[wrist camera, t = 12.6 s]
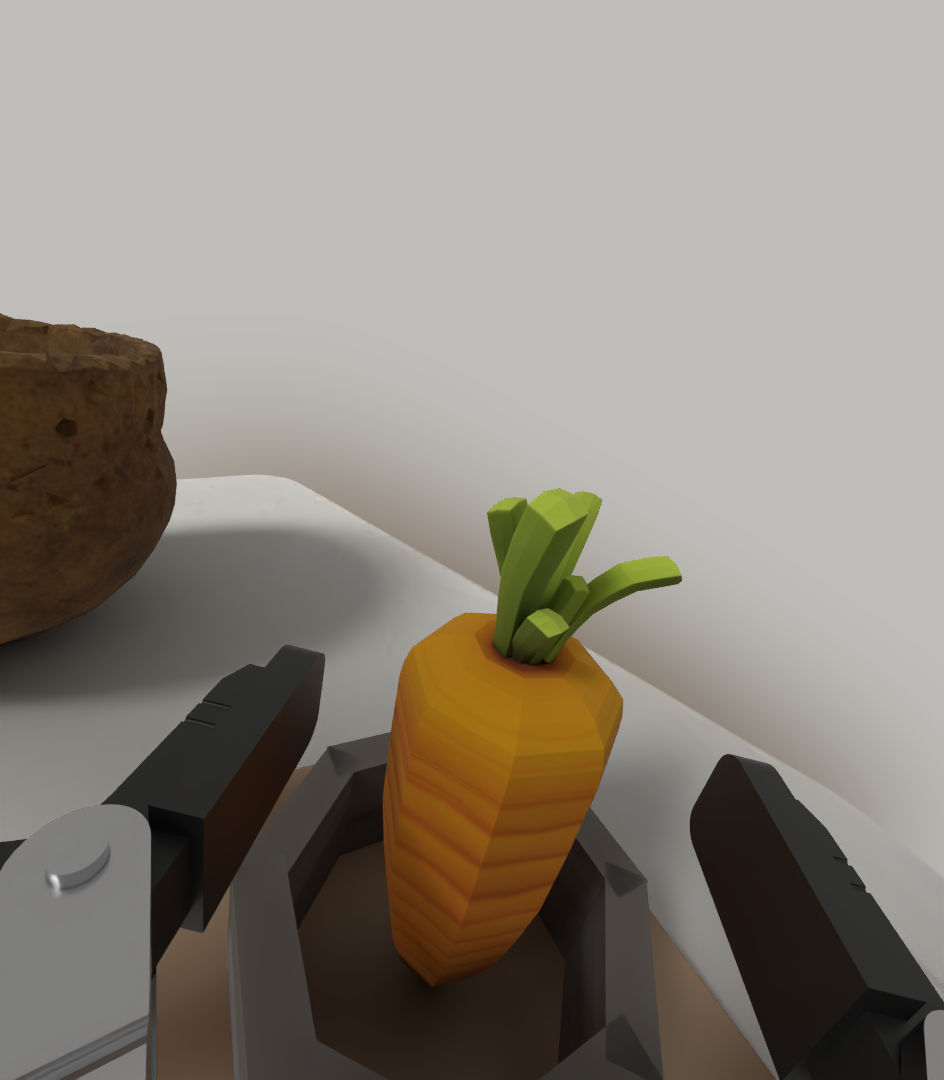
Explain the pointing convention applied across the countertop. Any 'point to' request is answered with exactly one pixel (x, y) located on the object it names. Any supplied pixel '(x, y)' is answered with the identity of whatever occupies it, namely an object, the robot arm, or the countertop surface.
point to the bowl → (77, 469)
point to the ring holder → (400, 995)
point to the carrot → (501, 743)
